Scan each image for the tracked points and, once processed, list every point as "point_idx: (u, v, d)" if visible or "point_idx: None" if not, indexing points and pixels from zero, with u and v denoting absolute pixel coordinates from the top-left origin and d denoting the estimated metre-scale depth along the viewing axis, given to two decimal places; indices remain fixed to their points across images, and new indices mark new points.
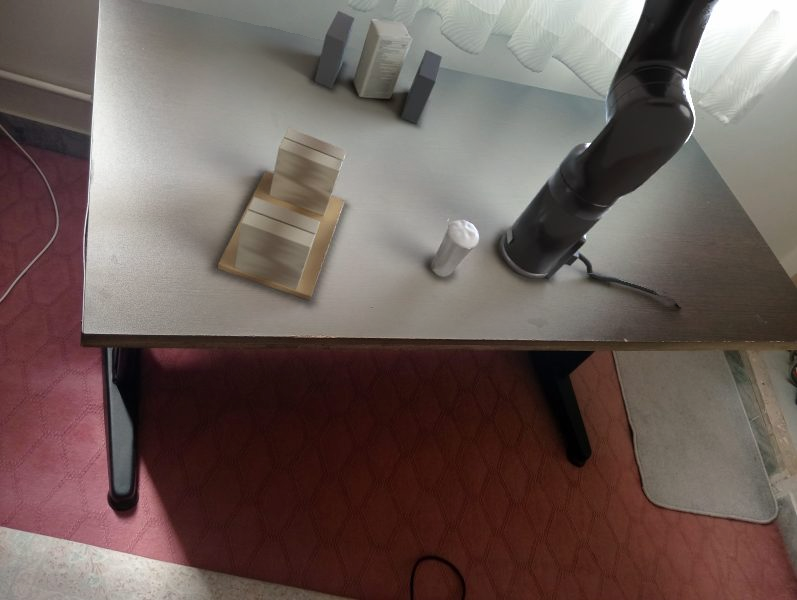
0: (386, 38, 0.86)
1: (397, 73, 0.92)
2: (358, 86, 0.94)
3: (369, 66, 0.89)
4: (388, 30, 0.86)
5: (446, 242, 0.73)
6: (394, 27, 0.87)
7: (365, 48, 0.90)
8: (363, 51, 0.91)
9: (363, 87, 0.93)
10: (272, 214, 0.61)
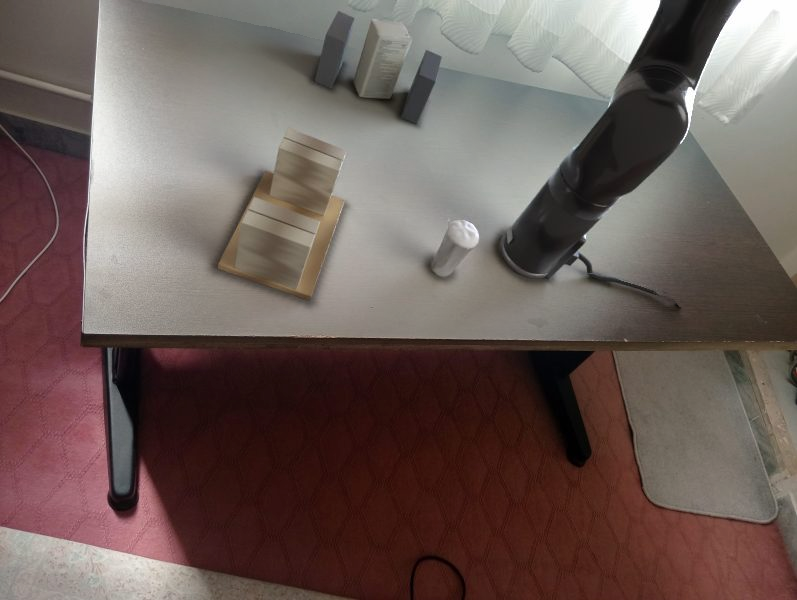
0: (386, 38, 0.86)
1: (397, 73, 0.92)
2: (358, 86, 0.94)
3: (369, 66, 0.89)
4: (388, 30, 0.86)
5: (446, 242, 0.73)
6: (394, 27, 0.87)
7: (365, 48, 0.90)
8: (363, 51, 0.91)
9: (363, 87, 0.93)
10: (272, 214, 0.61)
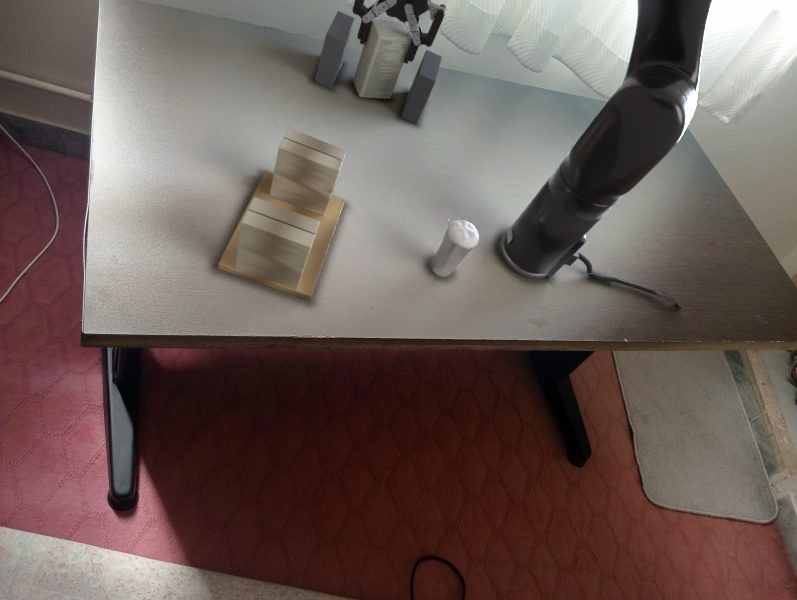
0: (386, 38, 0.86)
1: (397, 73, 0.92)
2: (358, 86, 0.94)
3: (369, 66, 0.89)
4: (388, 30, 0.86)
5: (446, 242, 0.73)
6: (394, 26, 0.87)
7: (365, 48, 0.90)
8: (363, 51, 0.91)
9: (363, 87, 0.93)
10: (272, 214, 0.61)
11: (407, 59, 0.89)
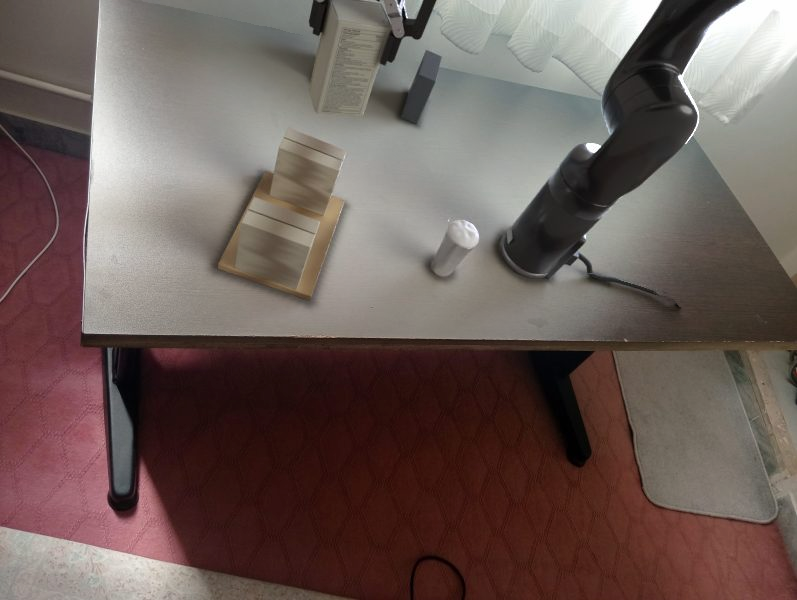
0: (350, 25, 0.55)
1: (371, 79, 0.62)
2: (313, 97, 0.64)
3: (327, 69, 0.59)
4: (354, 13, 0.56)
5: (446, 242, 0.73)
6: (365, 8, 0.57)
7: (322, 41, 0.59)
8: (319, 46, 0.60)
9: (320, 99, 0.62)
10: (272, 214, 0.61)
11: (385, 59, 0.59)
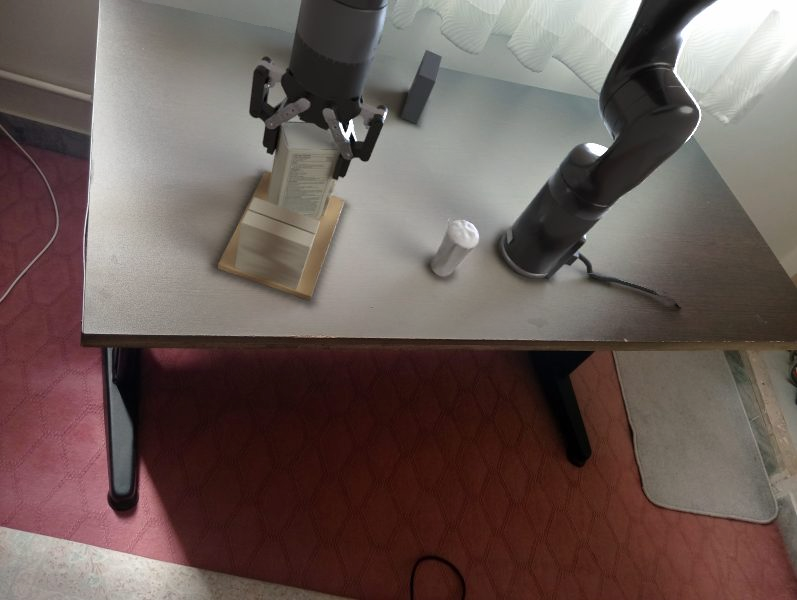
0: (300, 151, 0.58)
1: (325, 190, 0.65)
2: None
3: (281, 185, 0.62)
4: (304, 138, 0.59)
5: (446, 242, 0.73)
6: (315, 131, 0.60)
7: (276, 159, 0.62)
8: (274, 161, 0.63)
9: None
10: (272, 214, 0.61)
11: (336, 175, 0.62)
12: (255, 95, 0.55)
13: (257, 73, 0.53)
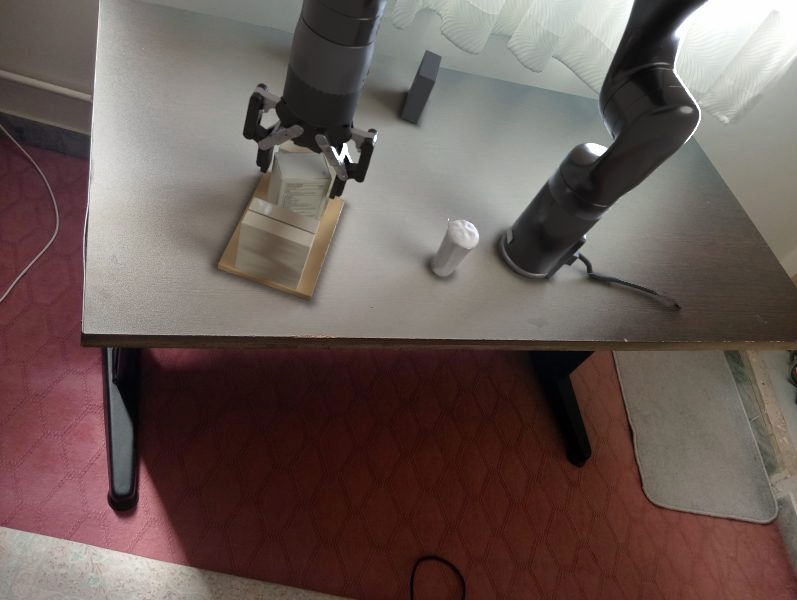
0: (293, 181, 0.62)
1: (317, 214, 0.68)
2: None
3: None
4: (297, 168, 0.62)
5: (446, 242, 0.73)
6: (307, 161, 0.63)
7: (271, 186, 0.66)
8: (269, 188, 0.67)
9: None
10: (272, 214, 0.61)
11: (333, 195, 0.64)
12: (250, 119, 0.58)
13: (253, 100, 0.56)
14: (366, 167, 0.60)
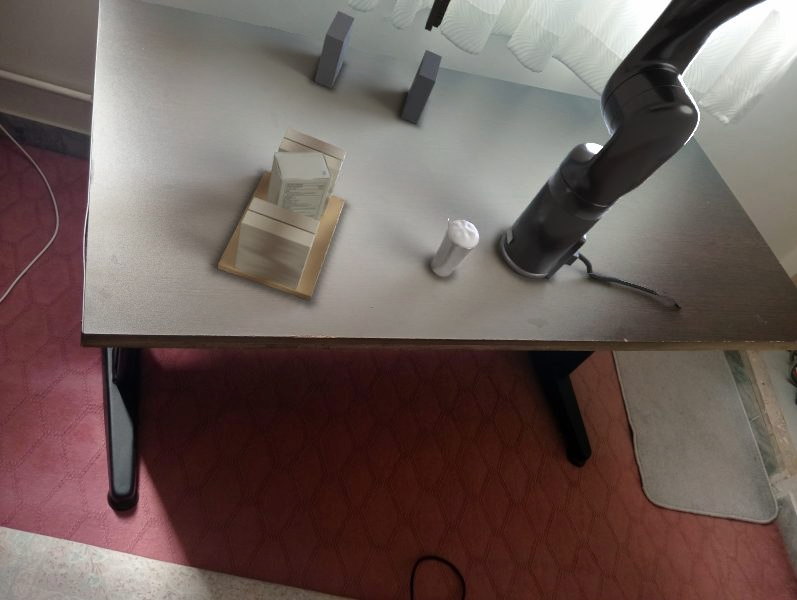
0: (293, 181, 0.62)
1: (317, 214, 0.68)
2: None
3: None
4: (296, 168, 0.62)
5: (446, 242, 0.73)
6: (307, 161, 0.63)
7: (271, 186, 0.66)
8: (269, 188, 0.67)
9: None
10: (272, 214, 0.61)
11: (431, 23, 0.55)
12: None
13: None
14: None
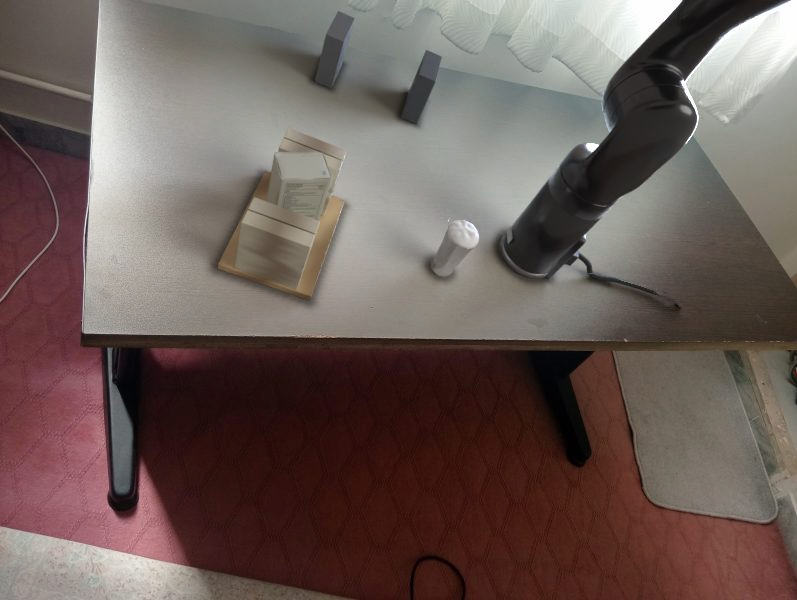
0: (293, 181, 0.62)
1: (317, 214, 0.68)
2: None
3: None
4: (296, 168, 0.62)
5: (446, 242, 0.73)
6: (307, 161, 0.63)
7: (271, 186, 0.66)
8: (269, 188, 0.67)
9: None
10: (272, 214, 0.61)
11: None
12: None
13: None
14: None
